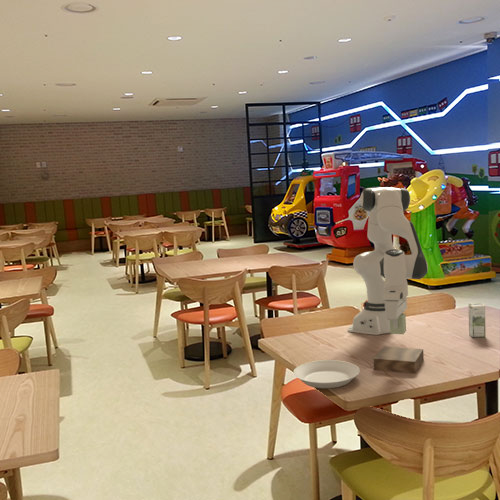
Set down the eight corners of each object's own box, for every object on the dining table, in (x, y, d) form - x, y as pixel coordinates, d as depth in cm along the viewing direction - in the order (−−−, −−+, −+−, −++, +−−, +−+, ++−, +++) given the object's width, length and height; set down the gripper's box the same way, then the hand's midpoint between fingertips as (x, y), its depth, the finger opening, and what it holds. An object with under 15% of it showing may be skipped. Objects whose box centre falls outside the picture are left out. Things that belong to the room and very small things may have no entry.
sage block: (390, 333, 226) (389, 316, 225) (393, 330, 230) (392, 313, 230) (403, 334, 224) (402, 316, 223) (406, 330, 228) (405, 313, 227)
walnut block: (373, 370, 226) (373, 358, 225) (384, 358, 240) (383, 346, 239) (415, 374, 218) (415, 361, 218) (423, 361, 232) (423, 349, 232)
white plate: (317, 365, 237) (316, 356, 236) (372, 375, 221) (371, 365, 220) (280, 384, 218) (280, 375, 217) (338, 397, 202) (337, 387, 201)
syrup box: (482, 333, 261) (481, 302, 260) (486, 337, 256) (485, 305, 254) (469, 334, 262) (468, 303, 260) (472, 337, 256) (471, 306, 254)
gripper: (394, 285, 236) (396, 318, 237) (381, 296, 218) (383, 332, 219) (410, 286, 233) (411, 319, 234) (398, 297, 215) (400, 333, 216)
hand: (397, 325), depth 227 cm, fingers closed on sage block, 5 cm apart
